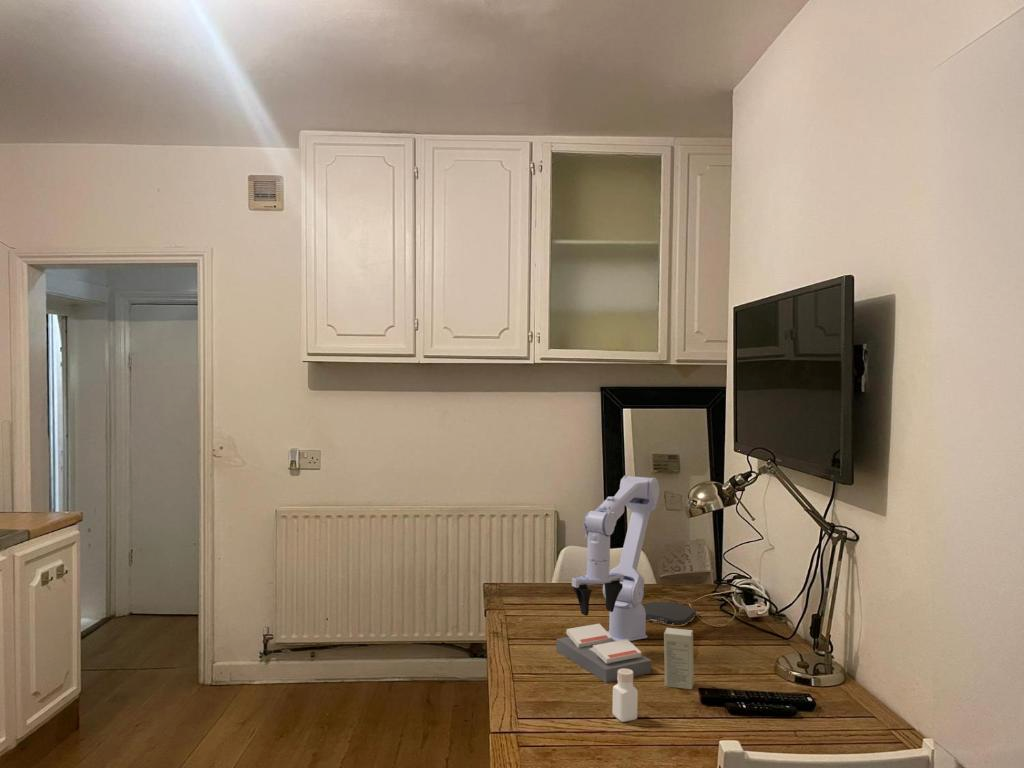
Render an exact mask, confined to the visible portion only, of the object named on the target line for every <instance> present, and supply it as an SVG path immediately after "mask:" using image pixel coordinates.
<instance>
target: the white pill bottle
mask: <svg viewBox="0 0 1024 768" xmlns="http://www.w3.org/2000/svg"><path fill="white" fill-rule="evenodd" d="M616 681H617V683H616V684H615V685H614V686H612V716H614V717H615V718H616V719H617V720H619V722H622V723H623V722H630V721H635V720H637V719H638V700H639V699H638V696H639V694H638V689H637V688H636V687H635V685H634V677H633V671H632V670H630V669H619V670H618V672H617V680H616Z"/></svg>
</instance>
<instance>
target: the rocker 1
mask: <svg viewBox="0 0 1024 768" xmlns="http://www.w3.org/2000/svg"><path fill="white" fill-rule="evenodd" d="M607 631H608V630H606V629H605V628H604V627H603V626H602V625H601V623H594V624H589V625H583V626H577V627H572V628H566V632H565V634H566V635H567V637H570V639H571V640H572V641H573V642H574V643H575V645H576V646H577V647H578V648H580V647H586V646H591V645H596V644H602V643H607V642H611V641H612V637H611V636H610V635H609V633H608V632H607Z"/></svg>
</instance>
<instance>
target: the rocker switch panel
mask: <svg viewBox="0 0 1024 768" xmlns="http://www.w3.org/2000/svg"><path fill="white" fill-rule="evenodd" d="M614 641H615V640H613V639H612V641H611V642H614ZM555 642H556V643H555V645H556V646H555V648H556V649H555V651H556V652H558V653H560V654H561V655H563V656H564V657H566V658H567V659H569V660H570V661H571V662H573V663H575V664H576V665H578V666H579V667H581V668H582V669H584V670H585V671H587V672H589V673H590V674H591V675H594V677H596V678H598V679H600V681H602V682H604V683H611V682H615V681H618V680H617V672H618V670H619V669H630V670H632V671H633V678H635V677H638V676H643V675H648V674H652V659H650V658H648V657H646V656H644V655H642V654H641V657H637V658H632V659H627V660H622V661H618V662H613V663H608V664H606V663H605V662H604V661H603V660H602V659H601V658H600V657H599V656H598V655H597V654H596V653H595V652H594V651H593V650H592V648H593V645H591V646H586V647H580V648H578V647H577V646H576V645H575V643H574V642H573V641H572V640H571V639H570V637H569V636H565V637H560V638H559V637H558V638H556V641H555ZM607 643H609V642H607ZM602 644H603V643H602ZM596 645H598V644H596Z"/></svg>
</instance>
